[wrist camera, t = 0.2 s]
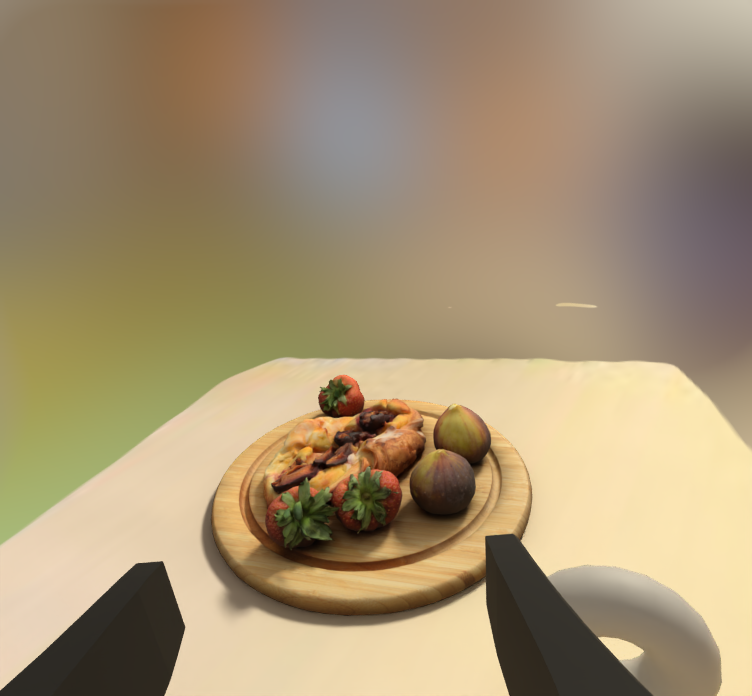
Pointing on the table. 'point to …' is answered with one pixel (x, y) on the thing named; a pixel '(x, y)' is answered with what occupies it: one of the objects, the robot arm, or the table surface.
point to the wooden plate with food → (369, 504)
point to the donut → (646, 627)
